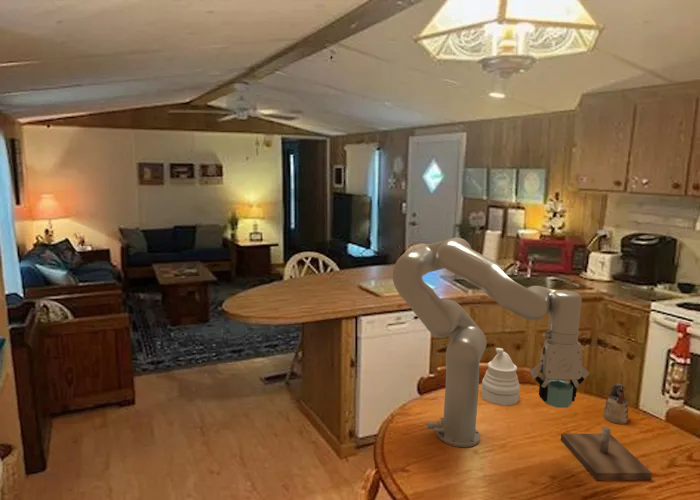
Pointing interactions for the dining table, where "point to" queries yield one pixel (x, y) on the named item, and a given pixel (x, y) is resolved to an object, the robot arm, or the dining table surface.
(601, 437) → the rod stand
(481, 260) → the robot arm
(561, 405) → the bead
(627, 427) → the dining table surface
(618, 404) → the figurine
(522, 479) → the dining table surface
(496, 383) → the honey pot
